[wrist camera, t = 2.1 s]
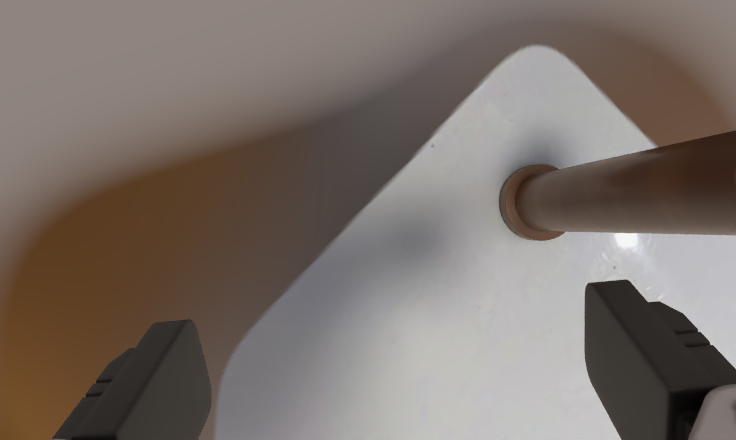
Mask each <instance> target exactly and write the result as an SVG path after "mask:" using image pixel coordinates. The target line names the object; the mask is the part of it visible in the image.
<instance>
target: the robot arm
mask: <svg viewBox="0 0 736 440" xmlns="http://www.w3.org/2000/svg"><path fill="white" fill-rule="evenodd" d="M585 361H586V367H587V371H588V375H589V378H590V381H591V383H592V385H593V387H594V389H595V391H596V393H597V395H598V396H599V398H600V400H601V402H602V404H603V406H604V408H605V410H606V411H607V413H608V415H609V417H610V419H611V421H612V423H613V424H614V426H615V428H616V430H617V432H618V434H619V436H620V437H621V439H622V440H736V369H735V368H734V367H733V366H732V365H731V364H730V363H729V362H728V361H727V360H726V359H725V357H724V356H723V355H722V354H721V353H720V352H719V351H718V350H717V349H716V348H715V347H714V346H713V345H710V342H709V341H708V340H707V338H706V337H705V336H704V335H703V334H702V333H701V332H698V329H697V328H696V327H695V326H694V325H693V324H692V323H691V322H690V321H689V319H688V318H687V317H686V316H685V315H684V314H683V313H681V312H679V311H677V310H675V309H673V308H671V307H669V306H667V305H665V304H663V303H661V302H660V301H659V302H647V301H646V300H645V298H644V297H643V296H642V295H641V294H640V293H639V292H638V290H637V289H636V288H635V287H634V286H633V285H632V283H631V282H630V281H628V280H616V281H606V282H595V283H588V284H587V286H586V289H585ZM210 407H211V384H210V380H209V376H208V372H207V368H206V363H205V360H204V355H203V352H202V347H201V343H200V340H199V335H198V332H197V328H196V326H195V324H194V322H193V321H192V320H180V321H168V322H158V323H154V324H152V326H151V327H150V328H149V330H148V331H147V332H146V334H145V335H144V337H143V338H142V339H141V341H140V342H139V344H138V345H137V346H136V348H131V349H128V350H127V351H126V352H124V353H123V354H122V355H120V356H119V357H118V358H116V359H115V360H113V361H112V362H111V363H109V364H108V366H107V367H106V368H105V370H104V371H103V372H102V374H101V375H100V376H99V378H98V379H97V380H96V384H93V385H92V387H91V388H90V389H89V391H88V392H87V393H86V398H82V400H81V401H80V403H79V404H78V405H77V406H76V408H75V409H74V410H73V412H72V413H71V414H70V416H69V417H68V418H67V419H66V421H65V422H64V423H63V425H62V426H61V427H60V429H59V430H58V431H57V433H56V434H55V435H54V437H53V438H52V439H51V440H198V438H199V436H200V433H201V431H202V429H203V426H204V424H205V422H206V419H207V417H208V415H209V411H210Z"/></svg>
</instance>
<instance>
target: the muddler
mask: <svg viewBox="0 0 736 440" xmlns="http://www.w3.org/2000/svg"><path fill="white" fill-rule="evenodd" d="M500 210H501V214H502V217H503V219H504V221H505V223H506V225H507V226H508V227H509V228H510V229H511V230H512V231H513V232H514V233H515V234H517V235H518V236H520V237H523V238H525V239H529V240H540V241H543V240H551V239H554V238H556V237H559V236H560V235H562V234H563V233H565V232H608V233H653V234H698V235H736V131H732V132H727V133H723V134H718V135H713V136H709V137H704V138H700V139H695V140H691V141H686V142H682V143H677V144H672V145H668V146H663V147H659V148H654V149H650V150H645V151H641V152H636V153H631V154H627V155H622V156H618V157H613V158H609V159H604V160H599V161H595V162H590V163H586V164H581V165H577V166H572V167H568V168H563V169H558V168H556V167H554V166H551V165H545V164H538V165H532V166H529V167H525V168H522V169H520V170H518V171H517V172H515V173H514V174H513V175H511V176H510V177H509V179H508V180H507V181H506V183H505V184H504V186H503V189H502V191H501V195H500Z"/></svg>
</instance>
